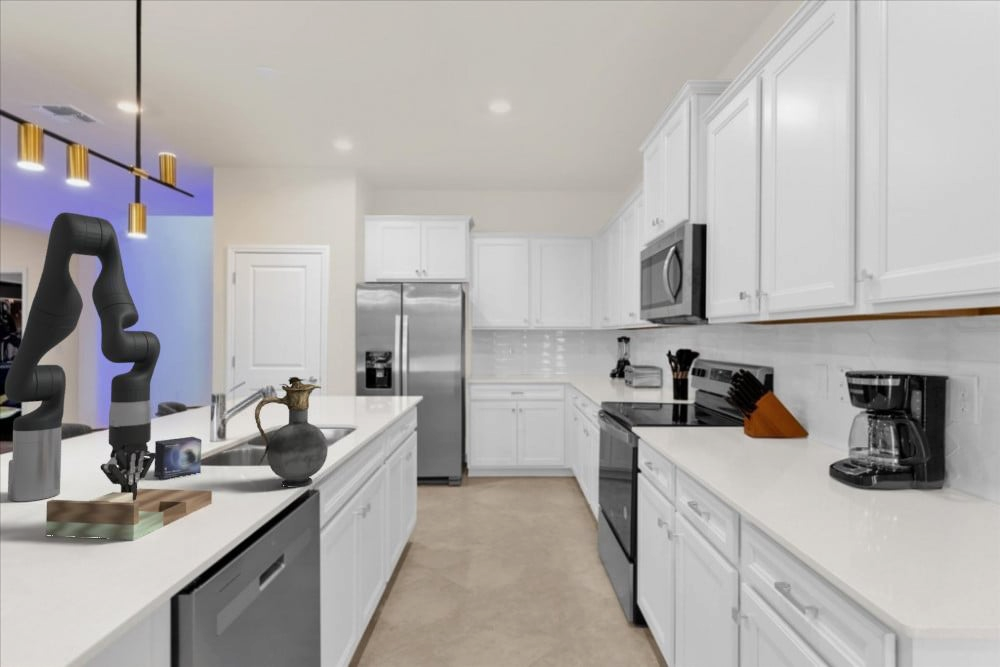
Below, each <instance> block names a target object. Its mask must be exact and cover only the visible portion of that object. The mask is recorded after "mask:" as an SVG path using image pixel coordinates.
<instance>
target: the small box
mask: <svg viewBox="0 0 1000 667" xmlns="http://www.w3.org/2000/svg"><path fill="white" fill-rule="evenodd" d="M154 442H155V445H154V446H155V447H154V449H155V450H154V451H155V452H154V453H156V456H155V458H154V473H153V477H154V478H157V479H159V480H161V481H165V480H169V479H170V478H171V479H176V478H175V477H177V478H181V477H180V476H183V477H187V476H186V475H188V476H192V475H191V474H194V475H197V474H196V473H200V474H201V464H202V461H201V460H202V443H203V442H202V439H201V438H198V437H195V436H188V437H187V436H186V437H179V438H171V439H162V440H155V441H154Z"/></svg>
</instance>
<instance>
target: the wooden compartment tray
mask: <svg viewBox="0 0 1000 667" xmlns="http://www.w3.org/2000/svg"><path fill="white" fill-rule="evenodd" d="M212 494H213V492H212V490H197V489H196V490H195V489H193V490H190V489H189V490H188V489H164V488H163V489H162V488H142V487H141V488H137V496H136V500H134V501H133V503H123V502H97V501H89V500H69V499H51V500H47V501H46V519H45V520H46V521H45V522H46V523H45V526H46V527H45V536H46V535H51V536H52V535H53V536H75V537H98V538H99V537H100V538H109V539H108V540H113V539H126V540H125V541H135V540H137V538H138V539H139V538H142V537H144V536H145V534H146V535H148V534H150V533H152V532H154V531H156V530H158V529H161V528H162V527H165V526H167V525H169V524H171V523H174V522H176V521H177V520H179V519H182V518H184V517H186V516H188V515H190V514H192V513H194V512H197V511H199V510H201V509H203V508H205V507H208V506H209V505H211V504H212V500H213V498H212V497H213V495H212ZM149 532H150V533H149ZM147 533H148V534H147ZM143 535H144V536H143ZM141 536H142V537H141Z"/></svg>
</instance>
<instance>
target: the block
mask: <svg viewBox="0 0 1000 667" xmlns="http://www.w3.org/2000/svg"><path fill="white" fill-rule="evenodd" d="M88 501H97V502H123V503H133V493H122V492H121V491H119V492H118V491H117V492H116V491H115V492H114V491H113V492H110V493H106V494H105V495H102V496H98V497H94V498H92V499H89V500H88Z"/></svg>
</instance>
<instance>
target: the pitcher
mask: <svg viewBox="0 0 1000 667" xmlns="http://www.w3.org/2000/svg"><path fill="white" fill-rule="evenodd" d="M303 381H305V380H304V379H303V378H302V379H301V378H300V377H298V376H292V377H289V379H288V382H289V385H290V386H289V385H288V384H286V383H282V384H281V383H280V384H279V386H281V388H282V390H283V391H285V394H286V395H284V396H283V397H282V398H281V397H274V396H268V397H264V398H262V399H261V400H260V401H259V402H258V403H257V405H256V407H255V409H254V419H255V424H256V426H257V427H256V428H257V429H258V431H259V433H260V435H261V436H262V439H263V441H264V444H265V449H264V453H263V455H262V457H261V458H260V460H259V462H258V464H257V465H258V467H259V466H260V464H261V463H262V462H263V460H264V458H265V457H266V459H267V463H268V465H269V468H270V469H271V471H272V472H273V473H274V474H275V475H277V476H278V477H279V478H281V479H284V480H283V481H281V485H282V486H283V485H284V486H302V487H306V486H309V485H311V484H312V483H313V479H312V478H311V477H312V476H314V475H315V474H317V473H318V472H319V471H320V470H321V469H322V468H323V466H324V464H325V463H326V460H327V457H328V450H329V448H328V443H327V442H328V441H327V439H326V436H325V434H324V433H323V431H322V430H321V429H320V428H319V427H317V426H316V425H314V424H312V423H309V420H308V418H309V413H308V412H309V410H308V409H310V402H309V401H310V400H309V398H310V395H311V394H312V392H313V390H315V389H322V386H320V385H315V384H309V383H308V384H307V383H306V384H305V383H303ZM273 403H274V404H275V403H276V404H279V405H284V406H286V407H287V409H288V423H287V424H286V425H284V426H282V427H280V428H278V429H277V430H276V431H275V432H274V433H273V434H272V436H271V437H270V439H269V441H268V437H267V435H266V433H265V431H264V430H263V428H262V424H261V419H260V412H261V411H262V408H263V407H264V406H265V405H269V404H273ZM284 486H283V487H284Z"/></svg>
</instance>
